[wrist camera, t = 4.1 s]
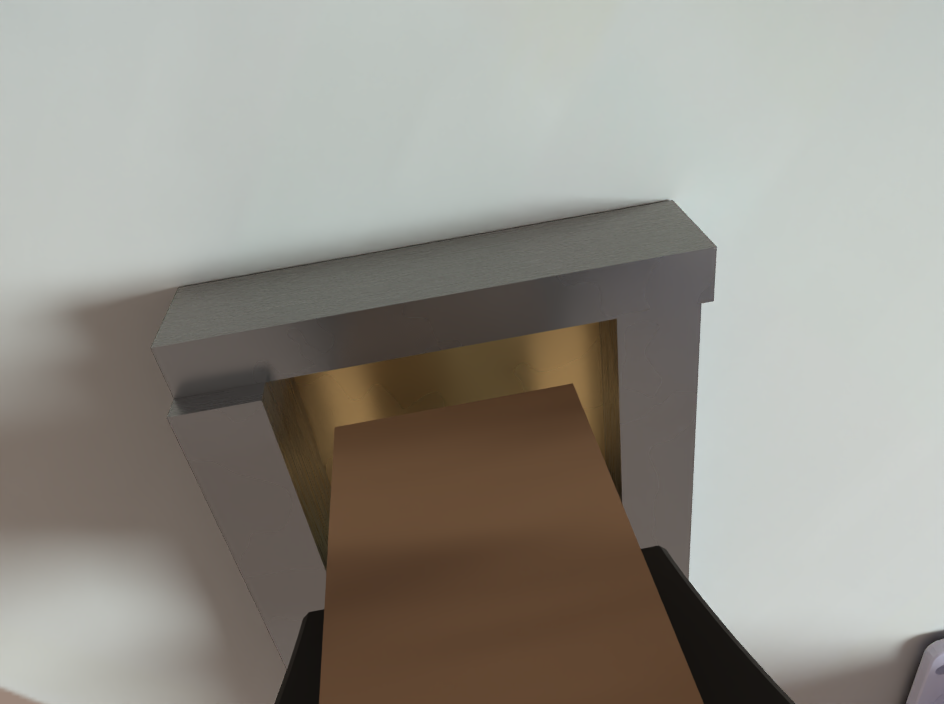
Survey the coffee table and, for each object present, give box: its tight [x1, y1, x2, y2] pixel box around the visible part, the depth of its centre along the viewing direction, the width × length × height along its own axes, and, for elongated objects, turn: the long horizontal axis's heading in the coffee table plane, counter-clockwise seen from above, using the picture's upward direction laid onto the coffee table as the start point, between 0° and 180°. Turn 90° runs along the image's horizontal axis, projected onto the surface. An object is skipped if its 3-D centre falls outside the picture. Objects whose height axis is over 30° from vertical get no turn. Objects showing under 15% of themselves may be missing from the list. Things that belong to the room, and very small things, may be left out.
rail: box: [151, 200, 717, 669], centre depth 15 cm, size 15×9×6 cm, turn 8°
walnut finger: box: [319, 383, 704, 704], centre depth 11 cm, size 5×4×6 cm
